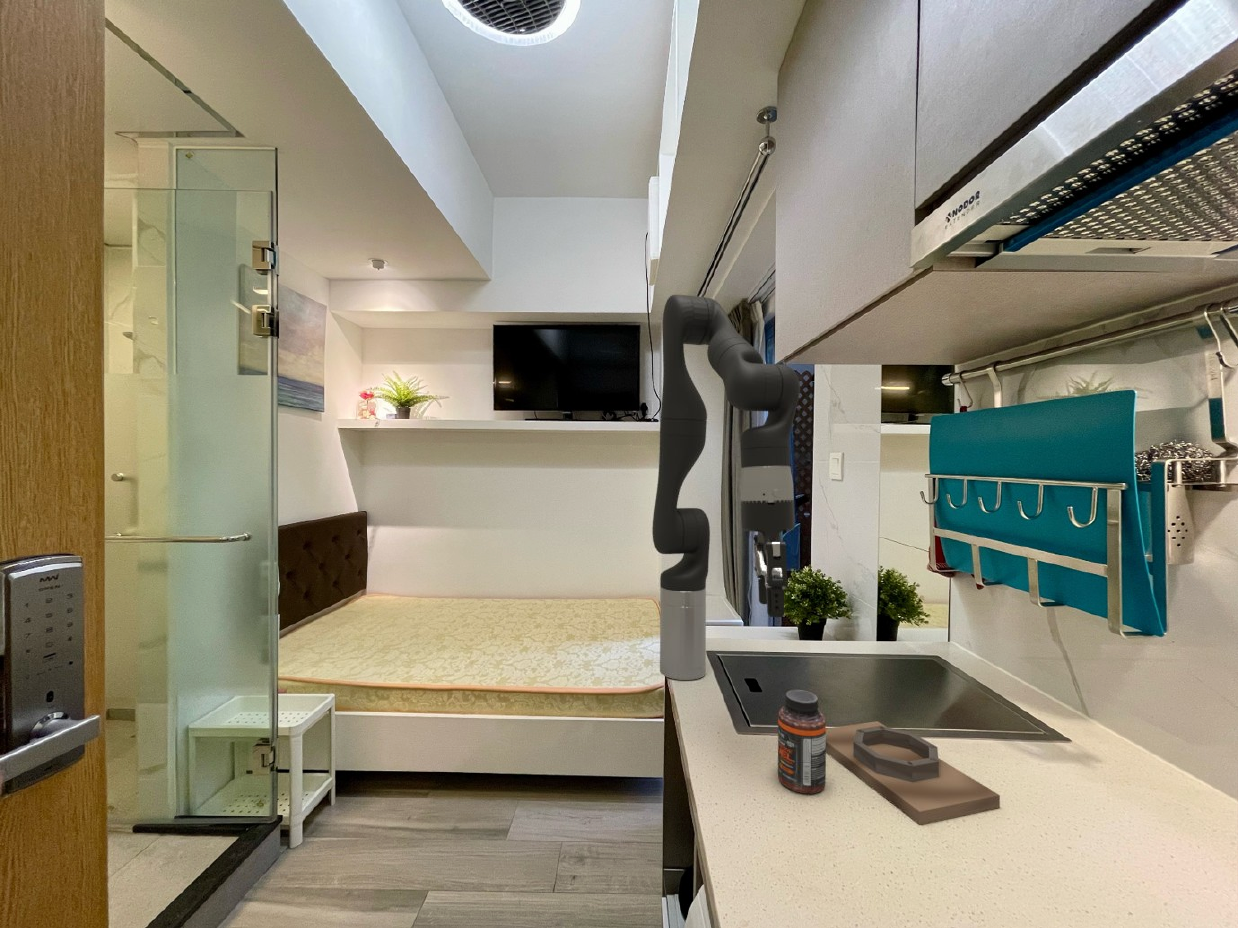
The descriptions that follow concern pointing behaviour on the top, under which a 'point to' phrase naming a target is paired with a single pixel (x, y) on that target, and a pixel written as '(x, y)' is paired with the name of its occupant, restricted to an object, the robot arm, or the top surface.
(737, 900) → the top surface
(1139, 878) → the top surface
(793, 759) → the supplement bottle
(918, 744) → the socket board
